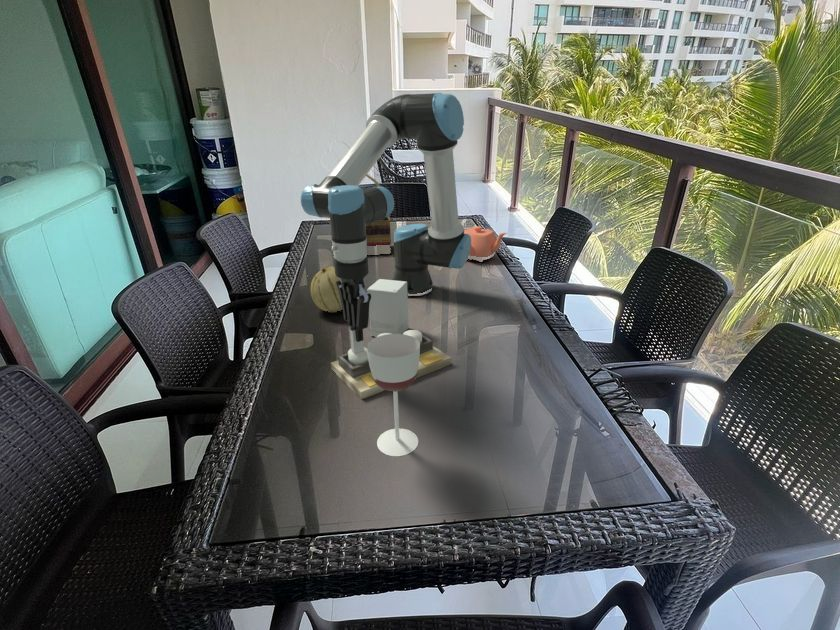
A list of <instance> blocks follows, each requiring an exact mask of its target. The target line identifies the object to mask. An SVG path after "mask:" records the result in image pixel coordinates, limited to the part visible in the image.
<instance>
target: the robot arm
mask: <svg viewBox="0 0 840 630" xmlns="http://www.w3.org/2000/svg"><path fill="white" fill-rule="evenodd" d="M464 119H465V118H464V112H463V108H462V105H461V103H460V101H459V100H458V98H457V97H456V96H455V95H453V94H450V93H442V92H441V93H440V92H433V93H416V94H412V93H411V94H410V93H407V94H406V93H405V94H401V95H397V96H395V97H393V98H391V99H389V100H387V101H386V102H385V103H383V104H382V105H381V106H379V107H378V108H377V109H376V110H375V111H374V112H373V113H372V114H371V115H370V116H369V117H368V119H367V120H366V123H365V128H364V130H363V131H362V132H361V133H360V135H359V136H358V137H357V138H356V140H355V141H354V142H353V143H352V144H351V145H350V146H349V148H348V149H347V150H346V151H345V153H344V154H342V157H341V158H339V160H338V161H337V163H335V165H334V166H333V167H332V169H331V170H330V171H329V172H328V174H327V175H326V176H325V177H324V178H323V180H321V182H320V183H319V184H316V183H314V184H309V185H306V186H305V187H304V188H303V189H302V191H301V195H300V204H301V207H302V209H303V211H304V212H305V214H307V215H309V216H312V217H317V218H320V219H321V218H323V219H324V218H326V219H329V221H330V224H331V226H330V233H331V232H332V236H331V242H332V244H331V245H333V246H331V248H330V249H331V252H332V255H334V256H333V258H334V261H333V267H334V269H335V275H336V276H337V277H338V278H340V279H341V280H340V281H336V284H337V287H338V290H339V294H340V300H341V305H342V310H343V311H342V314H343V320H344V321H345V322H347V325H348V327H349V337H350V349H351V350H352V352H353V353H354V354H355V353H358V352H361V351H364V347H365V343H364V341H365V340H364V329H367V328H368V327H369V303H370V300H371V294H370V293H369V294H367V293H366V292H367V291H365V289H366V285H365V282H364V279H365V277H366V276H368V274H369V260H368V258H367V257H368V256H367V238H366V226H367V225H369V224H372V223H374V222H377V221H381V220H383V219H384V218H386V217H387V216H389V215H390V216H391V215H392V212H393V211H394V209H395V200H394V196H393V194H392V192H391V191H390V190H389V189H387V188H386V187H383V186H381V187H377V186H372V187H370V188H363V187H361V186H359V185H360V184H361V183H362V181H364V178H365V177H367V176H366V175H367V174H368V173H370V171H371V169H372V168H373V167H375V164H376V163H377V162H378V160H379V159H380V157H382V155H383V154H384V153H385V151H386V150H387V148H390V147H392V146H394V145H395V144H396V143H397V141H400V140H405V139H406V140H416V147H417V150H418V151H420V152H421V153H422V154H423V160H424V169H425V170H424V171H425V176H426V177H425V179H426V187H427V195H428V202H429V203H428V204H429V210H430V218H431V219H430V221H431V226H430V227H428V224H426V223H413V224H412V223H411V224H405V225H401V226H399V227H397V228H396V229H395V230H394V232H393V251H394V252H393V255H394V272H393V274H392V279H391V280H395V281H405V282H407V293H409V294H417V293H423V292H425V291H427V290H429V289H431V288H432V286H433V287H434V282H433V280H432V277H431V274H430V271H429V267H428V266H432V267H433V266H435V267H442V268H448V269H455V270H456V269H461V268H463V267H464V266H466V265H465V264H466V262H467V259H468V256H469V253H470V249H471V237H470V235H468V234H464V231H465V229H464V228H465V227H464V225H463V224H462V223H461V222H459V212H458V211H459V210H458V200H457V199H458V198H457V196H458V195H457V186H456V185H457V184H456V176H455V175H456V173H455V160H454V149H455V148H456V146H457V145H458V140H459V139H461V137H462V136H463V132H464V125H465V120H464ZM330 224H329V225H330Z"/></svg>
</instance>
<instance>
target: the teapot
mask: <svg viewBox="0 0 840 630" xmlns="http://www.w3.org/2000/svg"><path fill="white" fill-rule="evenodd" d="M464 234H468V235H470V237H471V249H470V253H469V255H470V256H476V257H488V256H490V255H492V254H493V253H494V252H496V251H497V252H498V251H499V249H500V247H501V245H502V244H501V243H502V239H503V237H504V235H507V234H508V232H501V233H499V234H498V235H497V237H496V234H495V232H494V230H492V229H490V228H485V229H484V228H483V227H482V226H480V225H479V226H478V225H476V226H474V227H470V228H468V229H464ZM497 252H496V253H497Z"/></svg>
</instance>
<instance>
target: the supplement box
mask: <svg viewBox="0 0 840 630" xmlns="http://www.w3.org/2000/svg"><path fill="white" fill-rule="evenodd" d="M366 292H367V293H366V294H369V293H370V294H371V300H370V303H369V317H368V320H369V329H370V337H371V336H378V335H379V334H382V333H392V334H403V333H404V332H405V331H408V330H409V328H408V327H410V324H409V301H408V298H409V297H408V294H407V282H405V281H395V280H392V279H383V278H379V279H377V280H376V281H375V282H374V283H373V284H372V285H370V286H369V287H368V288H367V289H366Z"/></svg>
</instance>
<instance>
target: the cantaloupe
mask: <svg viewBox="0 0 840 630" xmlns="http://www.w3.org/2000/svg"><path fill="white" fill-rule="evenodd" d="M340 280H341V279H340V278H338V277H337V276H336V275H335V269H334V266H329V267H326V268H325V267H324V268H321V269H320V270H319V271H318V272H317V273H316V274H315V275H314V276H313V278H312V280H311V283H310V296H311V298H312V301H313V303H314V304H315V305H316V306H317V308H319V309H321V310H322V311H324V312H327V311H328V312H327V313H338V312H337V311H340V312H342V311H341V310H342V305H341V300H340V294H339V290H338V287H337V284H336V281H340Z"/></svg>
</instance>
